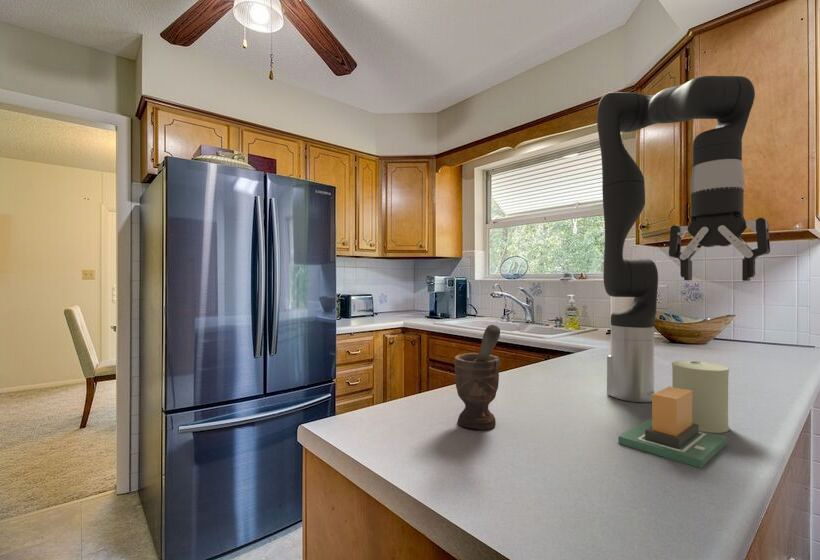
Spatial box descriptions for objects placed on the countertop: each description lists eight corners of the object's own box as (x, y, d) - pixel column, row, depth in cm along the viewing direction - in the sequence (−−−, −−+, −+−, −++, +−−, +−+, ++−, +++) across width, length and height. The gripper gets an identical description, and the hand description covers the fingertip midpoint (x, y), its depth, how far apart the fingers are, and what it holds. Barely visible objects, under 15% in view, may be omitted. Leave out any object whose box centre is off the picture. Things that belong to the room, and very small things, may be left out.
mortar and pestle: (521, 430, 75) (522, 323, 75) (489, 441, 70) (490, 326, 70) (476, 414, 85) (476, 318, 85) (445, 422, 80) (445, 320, 80)
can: (718, 419, 82) (718, 360, 82) (738, 435, 74) (738, 369, 74) (665, 414, 85) (666, 357, 85) (678, 429, 77) (679, 365, 77)
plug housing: (652, 429, 69) (652, 394, 69) (668, 419, 74) (669, 386, 74) (676, 436, 66) (676, 399, 66) (692, 424, 71) (692, 390, 71)
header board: (618, 443, 70) (618, 409, 70) (649, 424, 79) (650, 395, 79) (701, 468, 61) (701, 429, 61) (726, 444, 70) (726, 410, 70)
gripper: (664, 193, 76) (663, 280, 76) (764, 179, 65) (763, 280, 65) (677, 198, 80) (677, 280, 80) (773, 186, 69) (773, 280, 69)
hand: (716, 280), depth 72 cm, fingers open, 8 cm apart
